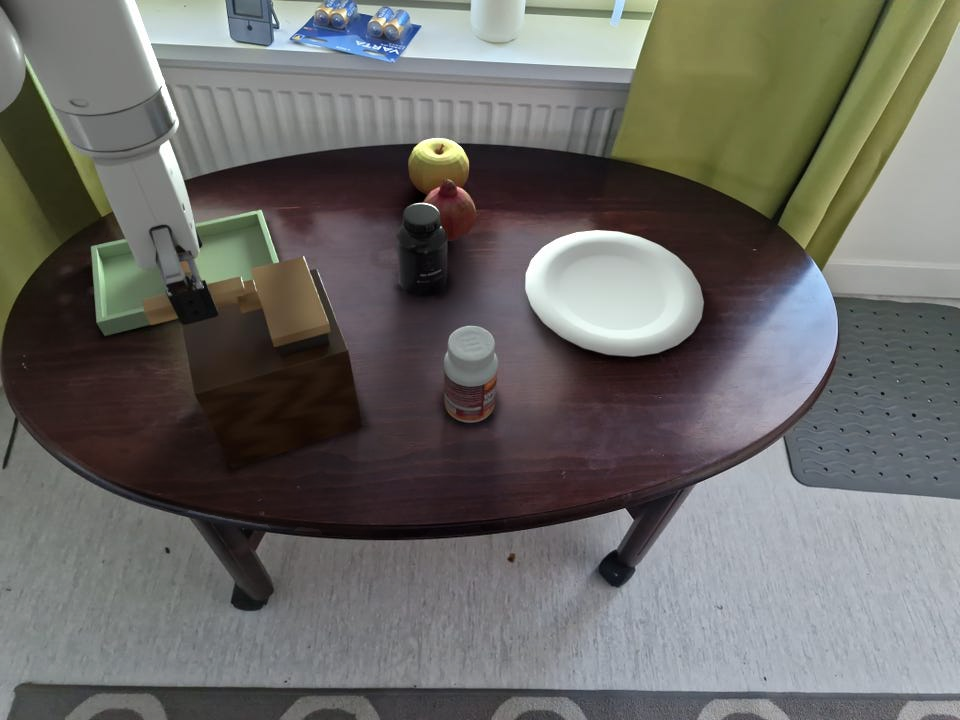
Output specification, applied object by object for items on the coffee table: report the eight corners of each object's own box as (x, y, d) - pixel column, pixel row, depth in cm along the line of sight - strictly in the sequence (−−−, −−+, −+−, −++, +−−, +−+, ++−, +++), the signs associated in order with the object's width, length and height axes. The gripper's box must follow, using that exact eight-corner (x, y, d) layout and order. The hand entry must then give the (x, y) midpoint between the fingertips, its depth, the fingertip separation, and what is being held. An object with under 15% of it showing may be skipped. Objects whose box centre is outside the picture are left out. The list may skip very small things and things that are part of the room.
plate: (514, 239, 99) (515, 230, 97) (674, 236, 101) (677, 227, 99) (535, 366, 83) (537, 358, 82) (724, 360, 85) (728, 352, 84)
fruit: (424, 255, 96) (422, 200, 88) (420, 221, 101) (418, 165, 93) (478, 252, 96) (480, 197, 89) (471, 218, 102) (473, 163, 94)
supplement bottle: (430, 306, 89) (428, 238, 80) (389, 287, 91) (383, 219, 82) (456, 277, 93) (457, 209, 84) (416, 259, 95) (413, 191, 86)
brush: (308, 277, 72) (298, 232, 67) (333, 345, 66) (324, 300, 61) (160, 314, 68) (137, 269, 63) (172, 390, 61) (148, 346, 57)
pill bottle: (493, 426, 77) (498, 367, 68) (441, 422, 77) (440, 362, 68) (496, 385, 81) (501, 324, 72) (447, 381, 81) (446, 319, 72)
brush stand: (232, 468, 72) (194, 394, 61) (214, 382, 80) (177, 302, 69) (362, 426, 76) (348, 350, 65) (333, 348, 84) (316, 268, 73)
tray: (104, 336, 84) (96, 322, 82) (98, 260, 93) (90, 246, 90) (287, 290, 90) (283, 276, 88) (264, 223, 99) (261, 209, 97)
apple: (480, 184, 107) (482, 141, 101) (446, 214, 102) (446, 170, 96) (432, 163, 111) (431, 120, 104) (397, 191, 105) (393, 148, 99)
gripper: (58, 65, 51) (141, 235, 64) (63, 191, 41) (160, 361, 54) (159, 49, 53) (219, 218, 66) (187, 166, 43) (251, 336, 56)
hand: (192, 282), depth 60 cm, fingers open, 9 cm apart
